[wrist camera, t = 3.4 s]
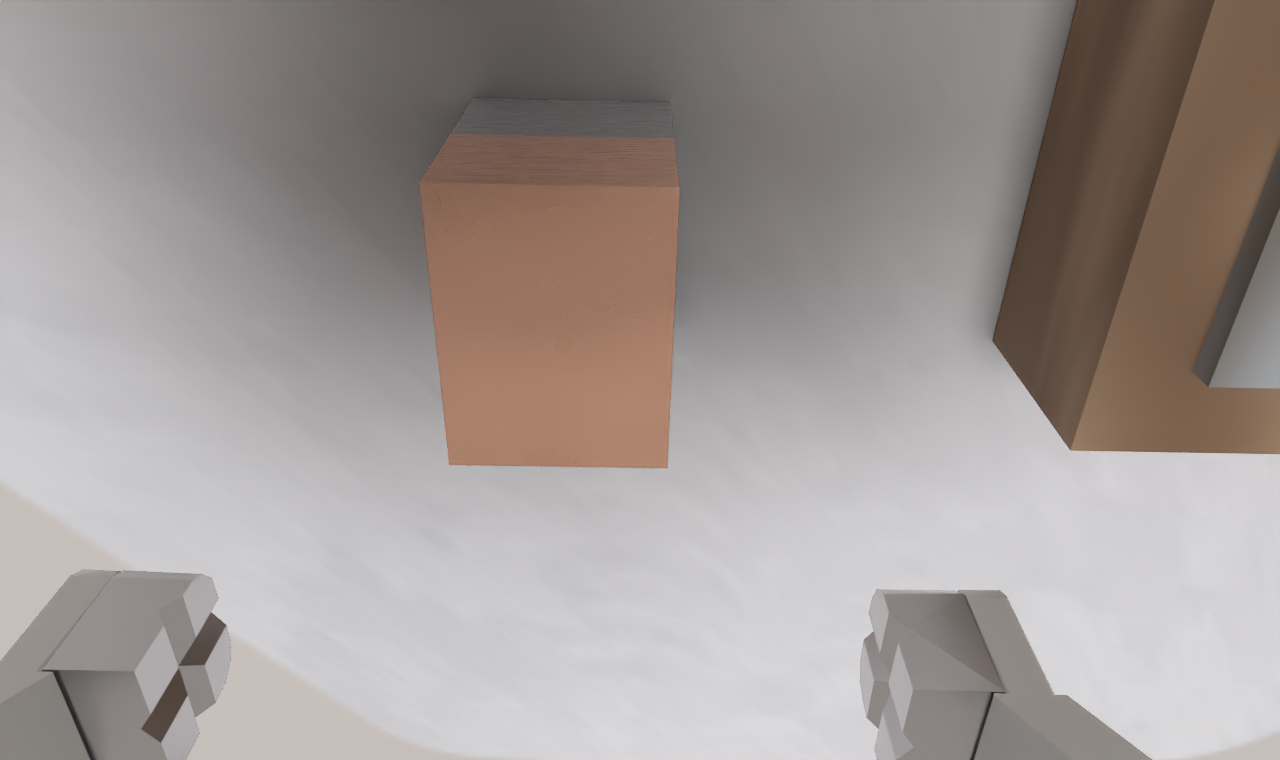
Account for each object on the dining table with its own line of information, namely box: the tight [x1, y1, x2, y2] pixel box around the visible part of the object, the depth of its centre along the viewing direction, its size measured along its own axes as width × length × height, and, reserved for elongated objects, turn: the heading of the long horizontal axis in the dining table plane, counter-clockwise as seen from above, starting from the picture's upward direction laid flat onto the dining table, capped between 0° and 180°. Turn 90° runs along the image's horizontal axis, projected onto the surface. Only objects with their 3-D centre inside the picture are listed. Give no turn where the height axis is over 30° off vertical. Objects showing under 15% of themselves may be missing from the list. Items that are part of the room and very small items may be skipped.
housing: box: [419, 98, 680, 468], centre depth 20 cm, size 4×6×6 cm
